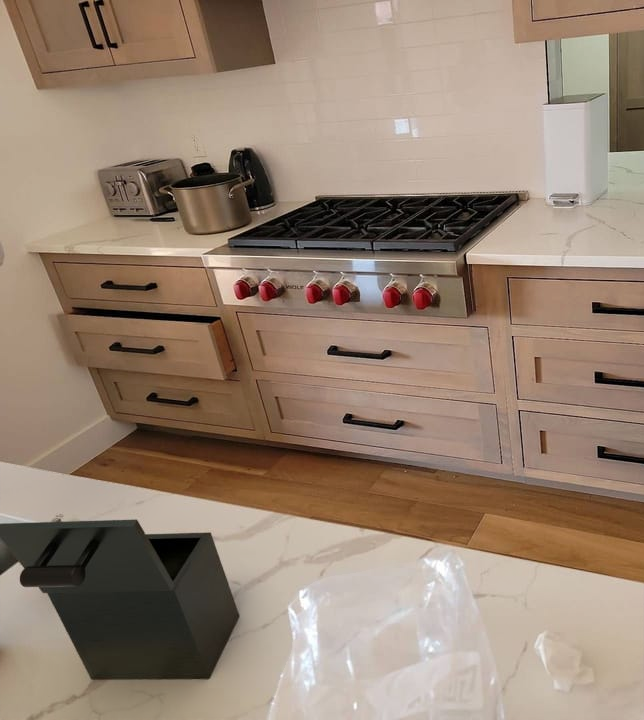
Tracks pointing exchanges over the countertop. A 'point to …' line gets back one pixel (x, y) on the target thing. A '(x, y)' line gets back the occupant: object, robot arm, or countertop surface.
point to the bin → (156, 617)
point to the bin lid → (86, 556)
